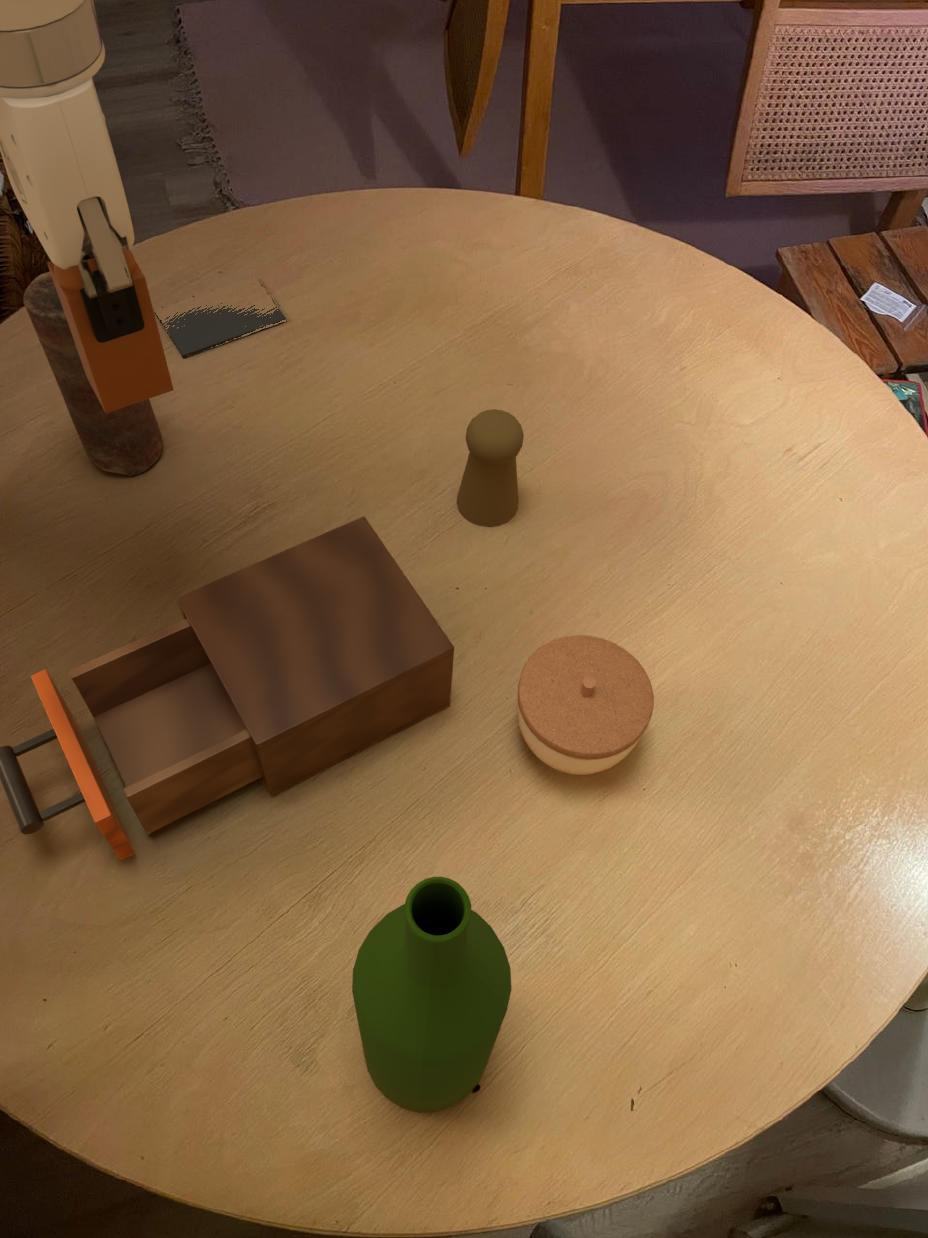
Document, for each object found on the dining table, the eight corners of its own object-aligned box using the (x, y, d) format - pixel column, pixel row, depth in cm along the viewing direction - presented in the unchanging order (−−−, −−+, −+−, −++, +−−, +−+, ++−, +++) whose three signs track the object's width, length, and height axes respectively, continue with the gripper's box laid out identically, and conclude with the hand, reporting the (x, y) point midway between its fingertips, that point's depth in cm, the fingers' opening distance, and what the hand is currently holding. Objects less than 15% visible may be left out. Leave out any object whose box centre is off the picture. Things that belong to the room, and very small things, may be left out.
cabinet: (271, 797, 84) (256, 745, 75) (197, 659, 90) (176, 597, 82) (450, 706, 89) (454, 647, 81) (367, 581, 95) (364, 515, 87)
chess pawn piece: (447, 486, 102) (452, 407, 93) (504, 471, 103) (514, 392, 94) (469, 533, 99) (476, 456, 90) (527, 517, 100) (540, 440, 91)
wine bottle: (477, 972, 77) (517, 802, 50) (498, 1102, 72) (554, 995, 45) (357, 990, 76) (330, 826, 48) (371, 1123, 71) (348, 1026, 44)
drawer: (56, 893, 78) (24, 857, 71) (-2, 750, 84) (-37, 704, 77) (304, 767, 84) (296, 723, 77) (234, 642, 90) (221, 591, 83)
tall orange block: (105, 414, 72) (58, 273, 62) (86, 377, 74) (37, 234, 64) (174, 390, 74) (138, 249, 64) (153, 354, 76) (115, 212, 66)
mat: (183, 358, 109) (182, 355, 109) (154, 312, 113) (153, 309, 113) (286, 321, 113) (286, 318, 113) (255, 278, 117) (254, 274, 116)
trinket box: (542, 661, 92) (555, 602, 84) (654, 713, 89) (679, 658, 81) (488, 758, 86) (496, 706, 78) (605, 817, 84) (626, 769, 76)
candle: (72, 468, 101) (4, 306, 84) (104, 415, 105) (45, 249, 88) (146, 485, 100) (93, 325, 83) (175, 431, 104) (130, 267, 87)
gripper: (-95, -33, 56) (12, 252, 71) (-2, 136, 48) (95, 413, 64) (43, -60, 58) (118, 222, 73) (153, 97, 50) (210, 374, 66)
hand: (107, 308), depth 68 cm, fingers closed on tall orange block, 4 cm apart
